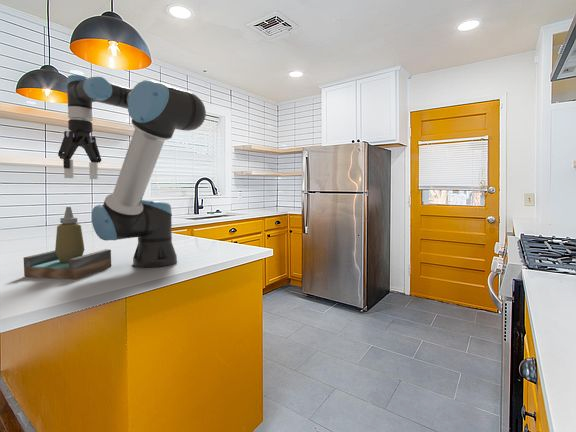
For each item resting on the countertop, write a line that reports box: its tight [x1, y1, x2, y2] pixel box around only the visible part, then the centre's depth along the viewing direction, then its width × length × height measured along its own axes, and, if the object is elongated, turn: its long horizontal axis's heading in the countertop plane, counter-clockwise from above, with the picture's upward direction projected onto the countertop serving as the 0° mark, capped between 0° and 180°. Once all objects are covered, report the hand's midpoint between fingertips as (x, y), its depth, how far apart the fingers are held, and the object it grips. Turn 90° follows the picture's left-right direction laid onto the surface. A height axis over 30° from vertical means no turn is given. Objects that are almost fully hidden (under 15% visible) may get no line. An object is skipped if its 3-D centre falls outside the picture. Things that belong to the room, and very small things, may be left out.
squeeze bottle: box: [54, 206, 85, 263], centre depth 108 cm, size 8×8×18 cm
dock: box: [23, 248, 112, 280], centre depth 108 cm, size 17×17×6 cm
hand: (82, 178), depth 122 cm, fingers open, 13 cm apart
